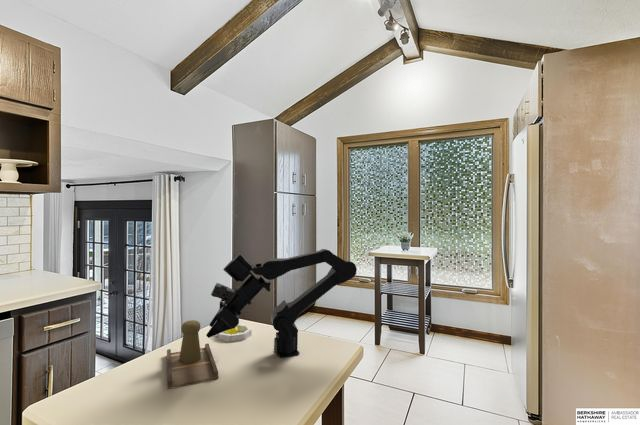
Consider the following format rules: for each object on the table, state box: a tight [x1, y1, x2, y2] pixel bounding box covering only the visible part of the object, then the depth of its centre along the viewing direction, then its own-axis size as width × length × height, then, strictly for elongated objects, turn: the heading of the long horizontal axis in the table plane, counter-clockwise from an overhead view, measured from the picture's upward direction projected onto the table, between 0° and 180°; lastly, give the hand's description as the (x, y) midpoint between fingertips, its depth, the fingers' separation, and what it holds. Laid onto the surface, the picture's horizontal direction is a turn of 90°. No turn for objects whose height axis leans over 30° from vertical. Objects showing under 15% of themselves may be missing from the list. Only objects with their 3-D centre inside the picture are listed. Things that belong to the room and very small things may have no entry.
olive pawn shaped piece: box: [179, 319, 201, 364], centre depth 92 cm, size 6×6×11 cm
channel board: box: [166, 343, 219, 390], centre depth 89 cm, size 12×21×2 cm, turn 26°
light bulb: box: [224, 327, 238, 334], centre depth 113 cm, size 3×6×4 cm, turn 118°
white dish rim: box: [216, 323, 253, 343], centre depth 114 cm, size 12×12×2 cm
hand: (208, 331), depth 94 cm, fingers open, 9 cm apart
